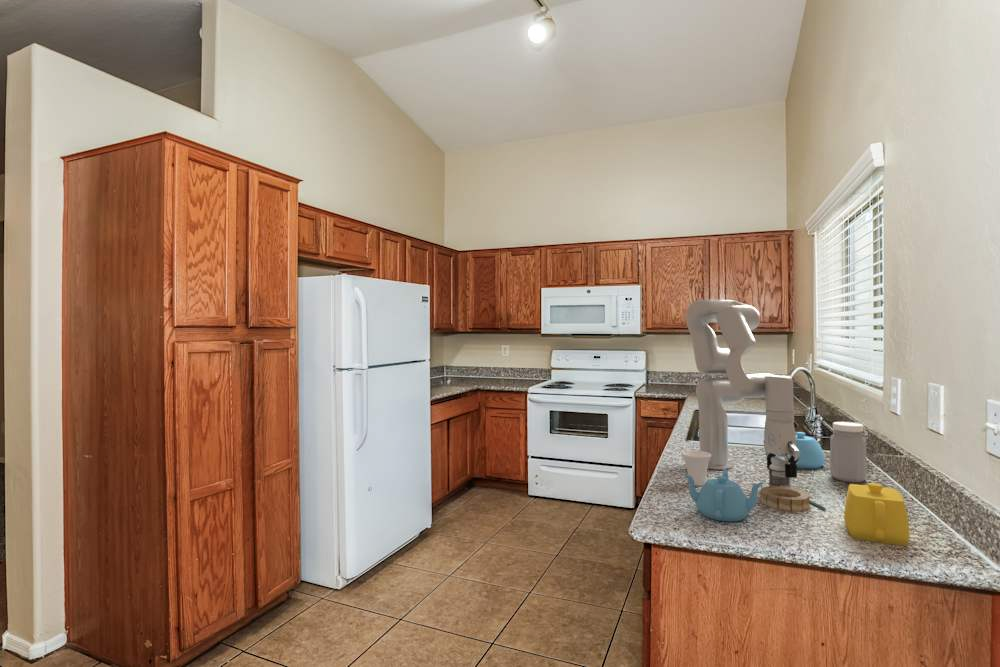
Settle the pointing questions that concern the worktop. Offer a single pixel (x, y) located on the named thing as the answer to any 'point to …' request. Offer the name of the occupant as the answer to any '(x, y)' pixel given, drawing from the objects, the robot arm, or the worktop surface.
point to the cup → (697, 465)
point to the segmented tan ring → (784, 498)
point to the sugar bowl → (808, 452)
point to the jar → (848, 452)
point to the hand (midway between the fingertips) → (781, 473)
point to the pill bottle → (778, 473)
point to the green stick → (817, 505)
